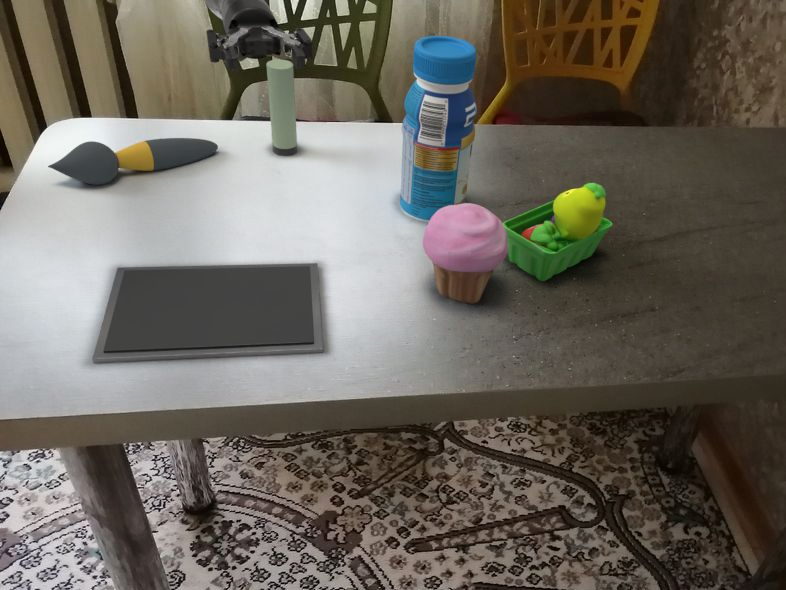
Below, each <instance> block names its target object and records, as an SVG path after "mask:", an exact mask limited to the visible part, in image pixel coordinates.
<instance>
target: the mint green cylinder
mask: <svg viewBox="0 0 786 590" xmlns="http://www.w3.org/2000/svg"><path fill="white" fill-rule="evenodd" d="M266 75H267V76H266V77H267V90H268V104H269V105H268V106H269V117H270V130H271V132H270V133H271V146H272V153H274V154H275V155H276V156H281V157H290V156H291V157H292V156H294V155H296V154H297V153H298V134H297V133H298V132H297V115H296V114H297V113H296V95H295V73H294V64H293V62H292V61H291V60H288V59H286V60H281V59H278V58H277V59H271V60H269V61H267V62H266Z"/></svg>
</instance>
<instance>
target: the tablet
mask: <svg viewBox="0 0 786 590" xmlns="http://www.w3.org/2000/svg"><path fill="white" fill-rule="evenodd" d="M318 265H319V264H318V263H317V262H314V263H313V262H311V263H268V264H266V263H263V264H260V263H259V264H217V265H215V264H213V265H174V266H173V265H172V266H171V265H170V266H169V265H168V266H128V267H127V266H125V267H121V266H120V267H117V268H116V271H115V275H114V279H113V282H112V286H111V289H110V293H109V297H108V300H107V304H106V307H105V311H104V315H103V318H102V322H101V326H100V329H99V333H98V336H97V340H96V344H95V348H94V351H93V355H92V358H91V359H92V363H93V364H103V363H104V364H105V363H128V362H147V361H149V362H150V361H172V360H190V359H191V360H192V359H193V360H194V359H212V358H234V357H235V358H236V357H237V358H238V357H257V356H278V355H300V354H302V355H303V354H321V353H324V341H323V327H322V326H323V325H322V324H323V323H322V312H321V311H322V309H321V297H320V281H319V280H320V279H319V266H318Z"/></svg>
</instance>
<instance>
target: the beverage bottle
mask: <svg viewBox="0 0 786 590" xmlns="http://www.w3.org/2000/svg"><path fill="white" fill-rule="evenodd" d="M476 62H477V50H476V46H474V44H472V43H470V42H469V41H467V40H464V39H462V38H458V37H454V36H448V35H429V36H428V35H427V36H424V37H421V38H419V39H418V40H416V41H415V44H414V47H413V59H412V71H413V75H414V77H415V78H416V79H415V81H414V82H413V83H412V85H411V86H410V88H409V89H408V91H407V94H406V96H405V98H404V103H403V105H404V106H403V107H404V110H405V113H406V114H405V116H404V117H403V120H402V123H401V133H402V149H401V151H402V153H401V177H400V194H399V208H400V209H401V211H402V212H403V213H404V214H405V215H407V217H410V218H412V219H414V220H417V221H419V222H425V223H429V221H430V219H431V217H432V216H433V215H434V214H435V213H436V212H437V211H438V210H439V209H441V208H443V207H445V206H449V205H458V204H463V203H467V191H468V183H469V176H470V175H469V174H470V167H471V166H470V165H471V161H472V160H471V159H472V151H473V144H474V141H475V138H476V126H475V122H474V121H473V120H474V119H475V117H476V116H477V111H478V109H477V103H476V97H475V95H474V92H473V90H472V88H471V86H470V84H471V83H472V81H473V79H474V76H475V71H476Z"/></svg>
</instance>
